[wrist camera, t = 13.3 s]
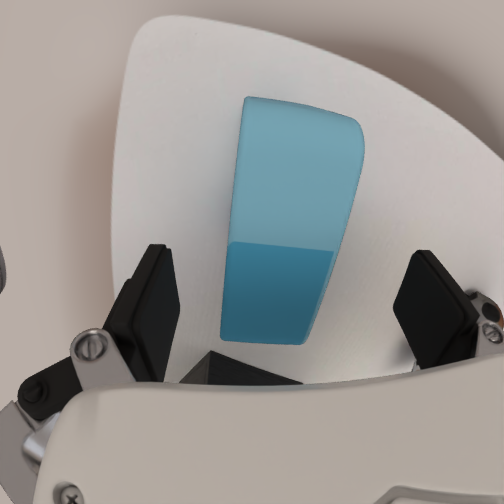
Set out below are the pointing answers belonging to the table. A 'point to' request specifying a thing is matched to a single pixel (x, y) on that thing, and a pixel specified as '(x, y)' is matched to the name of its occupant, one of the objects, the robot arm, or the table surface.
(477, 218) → the table surface
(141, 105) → the table surface
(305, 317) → the blue rounded block
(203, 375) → the trash bin
